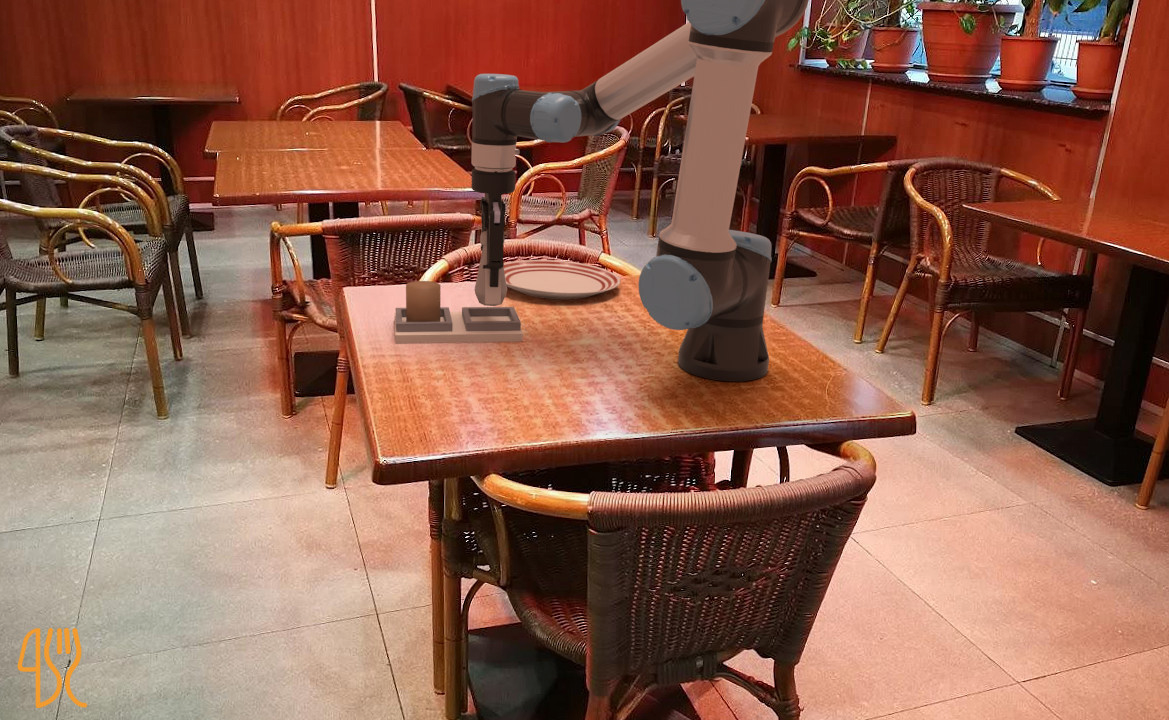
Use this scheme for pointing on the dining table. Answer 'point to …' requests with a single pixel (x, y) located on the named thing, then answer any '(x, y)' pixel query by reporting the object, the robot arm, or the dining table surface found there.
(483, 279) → the salt shaker
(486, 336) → the board
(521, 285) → the dinner plate
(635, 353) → the dining table surface
